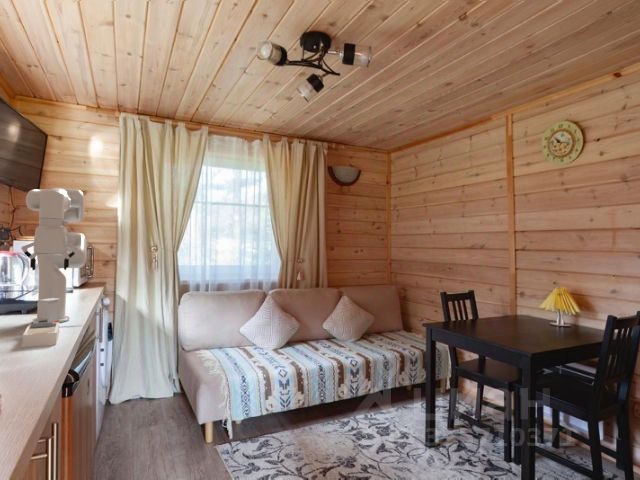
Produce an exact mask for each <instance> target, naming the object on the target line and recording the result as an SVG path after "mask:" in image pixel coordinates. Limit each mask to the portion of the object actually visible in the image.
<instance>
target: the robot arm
mask: <svg viewBox="0 0 640 480" xmlns="http://www.w3.org/2000/svg"><path fill="white" fill-rule="evenodd" d="M85 203H86V200H85V195H84V193H83V191H81V190H80V189H77V188H66V187H52V188H44V189H31V190H29V191H28V192H27V194H26V197H25V204H26V207H27V208H28V209H29V210H31V211H34V212H35V211H36V212H39V216H38V226H36V227H35V233H34V240H33V242H31V243H28V244H25V245H23V246H21V248H20V249H21V250H22V253H24V256H27V258H28V259H30V265H29V266H30V267H29V268H30V269H32V271H35V270H36V268H37V267H38V293H37V294H38V296H37V297H38V299H37V301H38V300H42V299H48V298H58V299H60V315H59V324H60V323H65V322H67V321H70V316H68V315H66V301H67V300H66V298H67V277H66V275H65V273H63V272H62V271H61V269H63V270H64V271H66V270H67V269H80V268H83V267H84V266H85V265H86V263H87V258H88V256H87V255H88V254H87V253H88V251H87V248H88V247H87V238H86V237H87V236H85V234H83V233H82V232H74V231H72V232H70V231H69V232H68V229H67V227H66V226H68V225H69V223H75V224H76V223H82V222H83V221H84V219H85V213H86V211H85V206H86V204H85ZM30 248H33V252H32V253H31V252H30V251H29V250H28V249H30ZM36 258H37V259H36ZM36 266H37V267H36ZM34 321H37V317H35V318H33V319H32V322H33V323H34ZM33 323H32V324H33Z"/></svg>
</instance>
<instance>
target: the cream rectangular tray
mask: <svg viewBox="0 0 640 480" xmlns="http://www.w3.org/2000/svg"><path fill="white" fill-rule="evenodd" d="M59 334H60V323H59V322H58V323H53V327H49V328H35V329H33V323H30V324H28V325H27V327H26V328H25V331H24V332H23V334H22V338H21V339H22V340H21V341H22V345H21V346H22V349H23V348H34V347H44V346H55V345H57V342H58V339H59Z"/></svg>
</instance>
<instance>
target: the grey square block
mask: <svg viewBox="0 0 640 480" xmlns="http://www.w3.org/2000/svg"><path fill="white" fill-rule="evenodd" d="M32 324H33V329H35V328H49V327H53V320H48V319H40V320H38V321H34V323H32Z"/></svg>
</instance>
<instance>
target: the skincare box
mask: <svg viewBox="0 0 640 480" xmlns="http://www.w3.org/2000/svg"><path fill="white" fill-rule="evenodd" d="M36 311H37V312H36V318H37V321H38V320H40V319H48V320H53V323H58V322H59V315H60V299H58V298H48V299H42V300H38V299H37V308H36Z"/></svg>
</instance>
